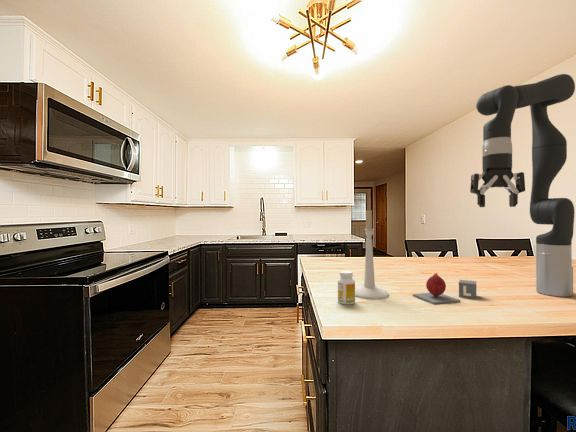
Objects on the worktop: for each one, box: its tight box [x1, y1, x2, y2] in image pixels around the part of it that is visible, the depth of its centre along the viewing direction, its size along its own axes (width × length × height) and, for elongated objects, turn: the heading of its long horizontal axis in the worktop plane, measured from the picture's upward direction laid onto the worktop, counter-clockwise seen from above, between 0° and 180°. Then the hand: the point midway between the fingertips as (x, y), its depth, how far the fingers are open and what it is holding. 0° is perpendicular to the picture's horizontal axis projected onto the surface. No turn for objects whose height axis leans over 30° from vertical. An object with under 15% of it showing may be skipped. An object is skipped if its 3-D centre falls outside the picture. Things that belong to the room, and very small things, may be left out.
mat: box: [412, 292, 461, 305], centre depth 98 cm, size 10×10×1 cm
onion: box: [425, 272, 447, 297], centre depth 98 cm, size 6×6×8 cm
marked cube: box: [458, 279, 477, 300], centre depth 100 cm, size 5×5×5 cm
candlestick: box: [355, 209, 390, 300], centre depth 104 cm, size 13×13×30 cm
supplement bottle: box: [337, 270, 356, 305], centre depth 94 cm, size 5×5×10 cm
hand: (497, 206), depth 91 cm, fingers open, 8 cm apart
